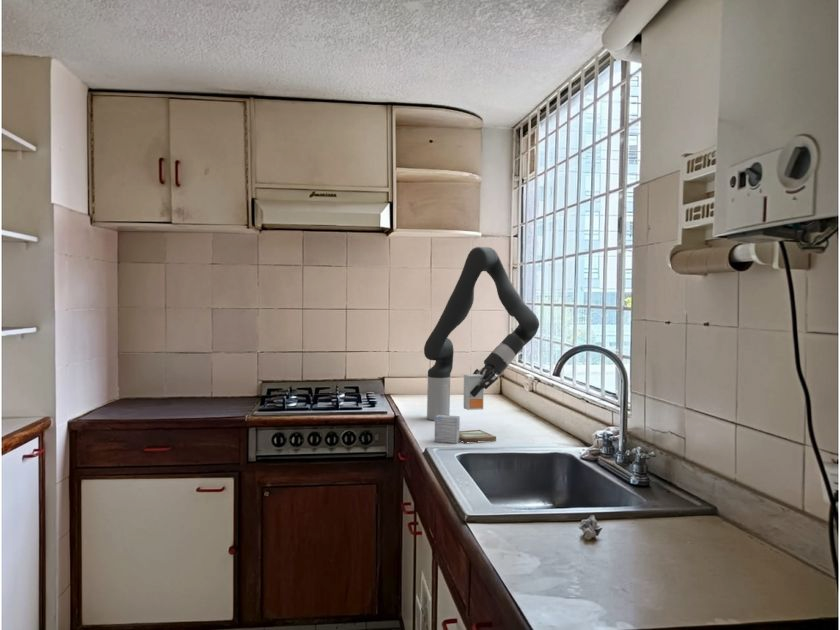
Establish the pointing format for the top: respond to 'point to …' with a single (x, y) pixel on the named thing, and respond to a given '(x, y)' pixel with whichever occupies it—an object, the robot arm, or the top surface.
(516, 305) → the robot arm
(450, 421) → the medicine box
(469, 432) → the plate
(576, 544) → the top surface
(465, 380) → the skincare box
